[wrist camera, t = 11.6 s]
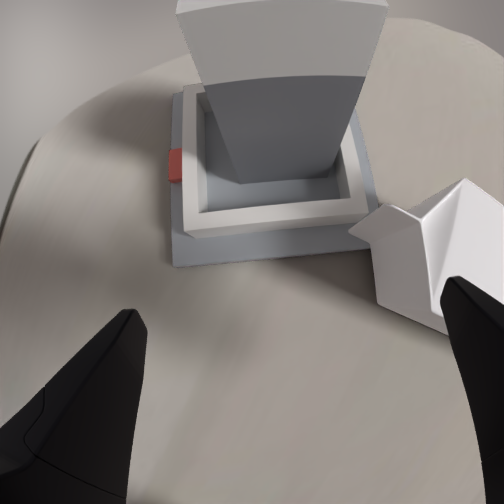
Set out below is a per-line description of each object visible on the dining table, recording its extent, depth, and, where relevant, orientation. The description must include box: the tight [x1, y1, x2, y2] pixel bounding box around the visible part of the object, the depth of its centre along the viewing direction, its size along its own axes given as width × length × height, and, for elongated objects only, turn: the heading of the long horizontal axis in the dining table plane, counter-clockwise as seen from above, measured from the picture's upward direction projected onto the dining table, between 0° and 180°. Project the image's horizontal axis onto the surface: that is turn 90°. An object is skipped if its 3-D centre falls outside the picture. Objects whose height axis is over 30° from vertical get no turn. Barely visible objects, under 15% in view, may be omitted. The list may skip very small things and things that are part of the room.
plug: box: [176, 0, 389, 184], centre depth 11 cm, size 4×5×12 cm
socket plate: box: [169, 83, 379, 268], centre depth 16 cm, size 12×12×3 cm
